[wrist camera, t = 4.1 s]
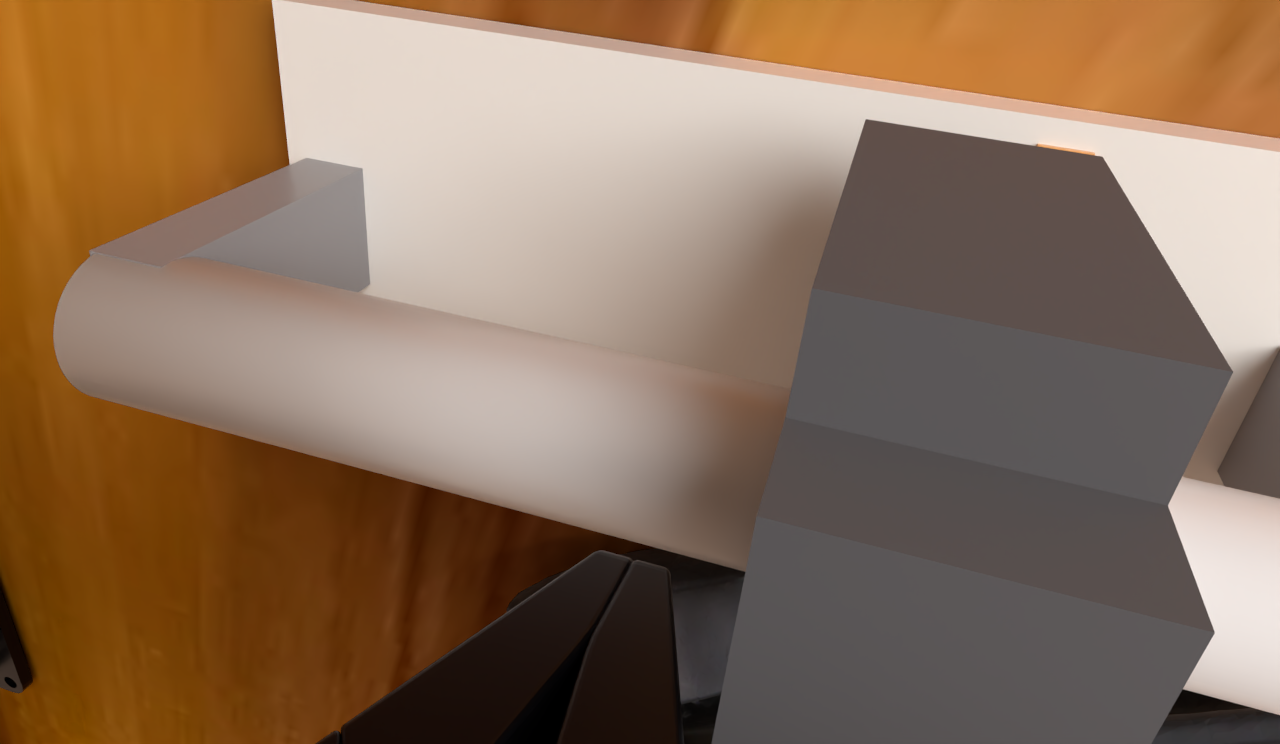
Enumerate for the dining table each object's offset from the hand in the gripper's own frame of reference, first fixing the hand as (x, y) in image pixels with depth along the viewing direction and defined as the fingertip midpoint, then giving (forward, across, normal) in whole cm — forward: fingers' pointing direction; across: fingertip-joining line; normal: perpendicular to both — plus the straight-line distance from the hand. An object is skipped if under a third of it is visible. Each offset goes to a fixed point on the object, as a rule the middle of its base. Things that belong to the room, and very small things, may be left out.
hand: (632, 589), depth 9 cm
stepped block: (+6, -3, 0) cm, 7 cm away
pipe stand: (+9, 0, 0) cm, 9 cm away
